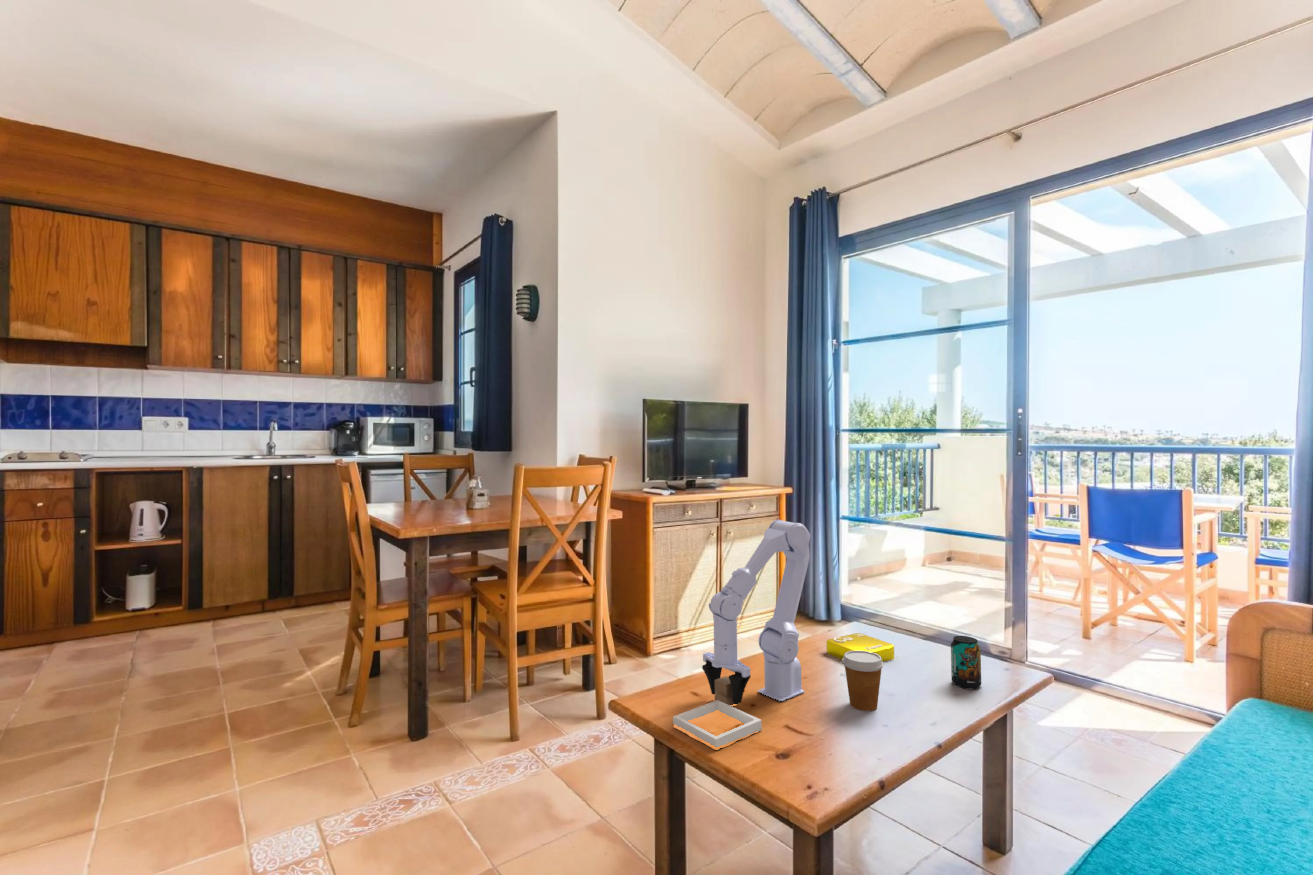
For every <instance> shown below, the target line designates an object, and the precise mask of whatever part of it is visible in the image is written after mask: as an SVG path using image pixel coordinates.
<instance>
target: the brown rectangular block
mask: <svg viewBox="0 0 1313 875" xmlns="http://www.w3.org/2000/svg"><path fill="white" fill-rule="evenodd" d="M716 700H719V701H721V702H723V703H725V704H727V705H733V704H734V703H733V694H732V686H731V683H730V680H729V676H727V675H726V676H723V677H720V678H719V679H716V680H715V694H714V701H716Z"/></svg>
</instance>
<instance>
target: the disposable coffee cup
mask: <svg viewBox="0 0 1313 875" xmlns="http://www.w3.org/2000/svg"><path fill="white" fill-rule="evenodd" d="M841 661H842V663H843V665H844V669H845V670H844V671H845V678H846V684H847V691H848V696H849V697H848V699H849V705H850V706H851V708H853V709H855V710H858V711H862V712H872V711H875V710H877V709H878V703H879V694H880V684H881V675H882V670H883V667H884V663H885V662H882V659H881V656H879V655H878V654H875V653H872V652H868V651H858V650H856V651H849V652H846V653H845V654H844V658H843V659H842V660H841Z"/></svg>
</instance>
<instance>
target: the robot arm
mask: <svg viewBox="0 0 1313 875" xmlns="http://www.w3.org/2000/svg"><path fill="white" fill-rule="evenodd" d="M810 540H811V533H810V532H809V530H808V529H807V527H806V526H805V525H804V524H803V523H800V522H792V521H786V520H783V519H774V520H773V521H772V522H771V523H770V524H769V526H768V527H767V529H765V530H764V534H763V538H762V539H761V541H760V543H759V544H758V546H757V548H756V549H755V550H754V552H753V553H752V555H751V557H750V558H749V559H748V562H747V563H746V565H745V566H743V567H739V568H736V570H733V571H732V573H731V576H730V578H729V580H728V581H727V582H726V583H725V585H724V586H722V587H721V589H720V591H719V592H717V593H715V594H714V595H712V597H711V600H710V603H708V609H709V610H710V612H711V613H712V618H713V619H712V620H713V652H709V651H708V652H703V653H702V661H703V663H705V664H703V665H702V666H701V668H702V670H703V671H704V674H705V677H706V679H707V681H708V684H709V688H710V691H711V694H712V695H714V696H715V680H716V679H719V678H722V677H721V675H722V670H723V669H725V670H728V671H730V672H732V673H733V674H731V675H728V677H729V680H730V683H731V686H732V694H733V703H734V704H738V705H739V704H741V703H742V701H743V696H744V692H745V689H746V687H747V684H748V682H749V680H750V679H751V667H749V666H748V665H746V664H744V663H743V662H741V661H740V660H739V659H738V620H737V619H738V617H739V615H741V613H742V609H743V603H744V600H745V599H746V598H747V596H748V595H749V594H750V592H751V591H752V590H753V589H754V587H755V585H756V584H757V577H756V576H757V575H759V572H760V571H762V569H763V568H764V567H765V566H766V565H767V563H768V562H769V561H770V559H772V557H773V556H774V555H775V554H776V553H780V552H782V553H783V554H784V556H785V557H786V562H785V567H784V570H783V573H782V574H783V575H782V579H781V582H780V586H779V591H778V595H777V600H776V603H775V608H774V612H773V615H772V618H770V619H768V620H767V621H766V622H765V625H764V628H763V630H762V631H761V632H760V634H759V636H758V647H759V649H760V650H761V651H762V652H763V653H762V654H763V659H764V667H763V668H764V670H763V671H764V687H763V688H760V689H757V691H758V692H760V693H762V694H761V695H763V694H764V695H763V696H765V695H766V696H765V697H768V696H769V697H768V698H770V697H771V699H772V700H775V699H776V700H775V701H777V700H778V702H780V701H782V702H784V701H787V700H789V699H791V698H794V697H796V696H799V695H801V694H804V693H805V689H803V688H802V687H803V686H802V664H801V662H800V660H799V658H797V656H798V653H799V651H800V650H799V648H800V647H799V636H800V634H799V632H798V630H797V628H796V625H795V621H796V617H797V612H798V610H799V609H798V608H799V603H800V600H801V595H802V591H803V587H804V585H805V584H804V583H805V578H806V575H807V571H808V567H809V562H810V558H811V555H810V546H809V544H810V542H811V541H810ZM758 692H757V693H758ZM760 693H759V694H760ZM786 699H787V700H786Z"/></svg>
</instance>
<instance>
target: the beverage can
mask: <svg viewBox="0 0 1313 875" xmlns="http://www.w3.org/2000/svg"><path fill="white" fill-rule="evenodd" d="M952 639H953V640H952V642H951V643H950V671H951V682H952V683H953V684H954V685H955V686H957V687H959V688H961V689H965V690H976V689H979V688H980V686H982V658H981V657H982V656H981V655H982V654H981V653H982V652H981V651H982V650H981V646H980V644H979V643H978V641H979V640H978V639H977V638H975V637H972V636H966V635H955V636H953V638H952Z"/></svg>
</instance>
